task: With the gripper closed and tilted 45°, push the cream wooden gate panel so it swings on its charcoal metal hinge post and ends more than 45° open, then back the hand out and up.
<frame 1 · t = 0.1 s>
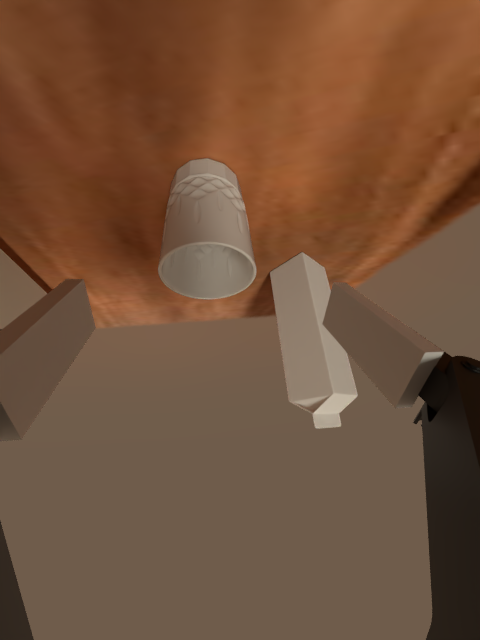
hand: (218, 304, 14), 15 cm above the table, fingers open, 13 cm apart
gate panel: (5, 307, 29), point 7 cm above the table, hinge at 0.0°
white cup: (206, 190, 25), on the table
milk: (296, 268, 38), on the table
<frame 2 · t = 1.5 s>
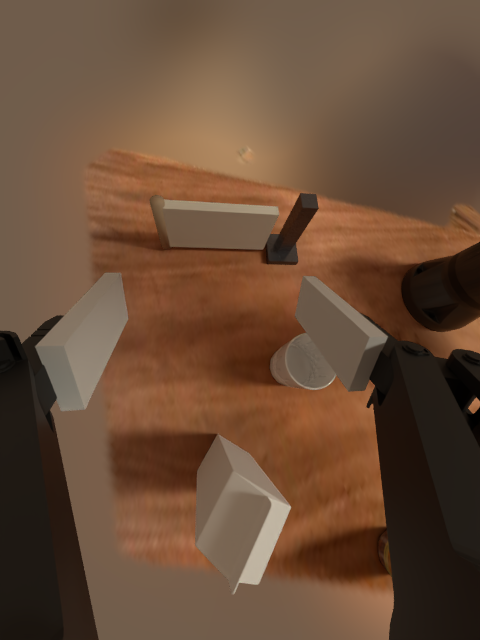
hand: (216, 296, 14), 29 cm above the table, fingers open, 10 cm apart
gate panel: (215, 228, 42), point 6 cm above the table, hinge at 0.0°
white cup: (287, 366, 44), on the table
gate post: (280, 250, 50), on the table
sauce bottle: (392, 549, 39), on the table
milk: (223, 461, 39), on the table
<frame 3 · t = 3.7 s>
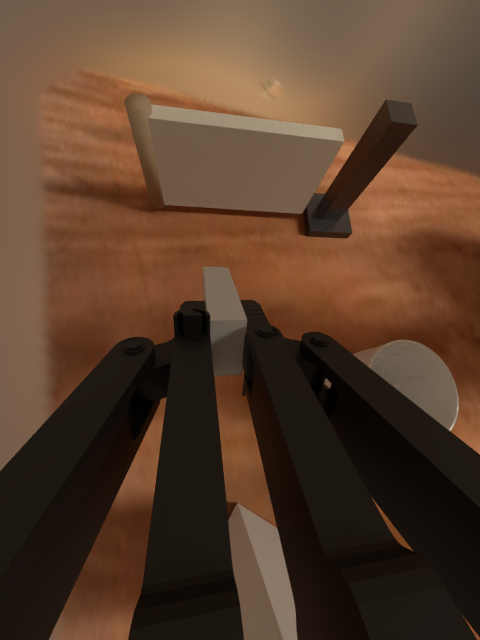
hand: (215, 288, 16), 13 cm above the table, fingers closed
gate panel: (234, 170, 26), point 6 cm above the table, hinge at 0.0°
white cup: (341, 389, 29), on the table
gate post: (324, 218, 35), on the table
milk: (247, 550, 23), on the table
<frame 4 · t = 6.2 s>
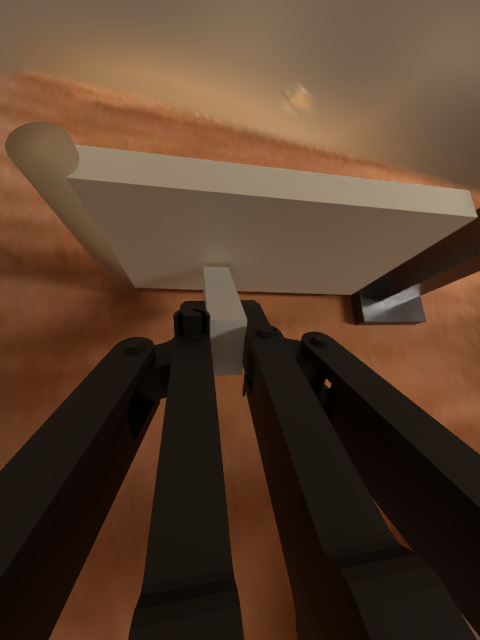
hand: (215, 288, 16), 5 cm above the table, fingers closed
gate panel: (253, 248, 15), point 6 cm above the table, hinge at 1.2°, touching gripper
gate post: (379, 293, 23), on the table
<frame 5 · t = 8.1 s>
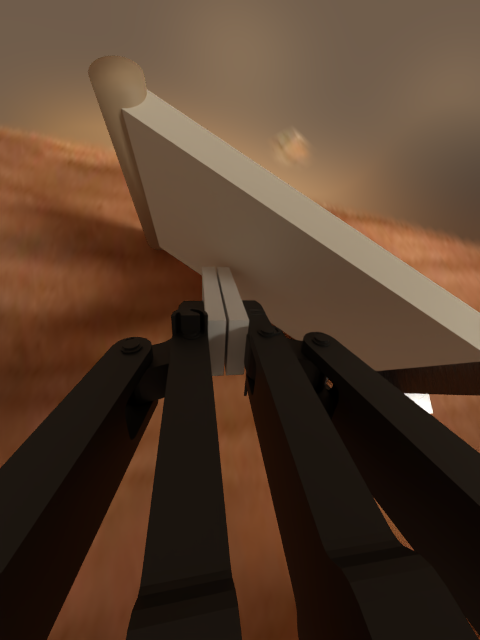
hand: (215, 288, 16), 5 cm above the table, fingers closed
gate panel: (264, 266, 15), point 6 cm above the table, hinge at 35.9°, touching gripper
gate post: (381, 376, 21), on the table
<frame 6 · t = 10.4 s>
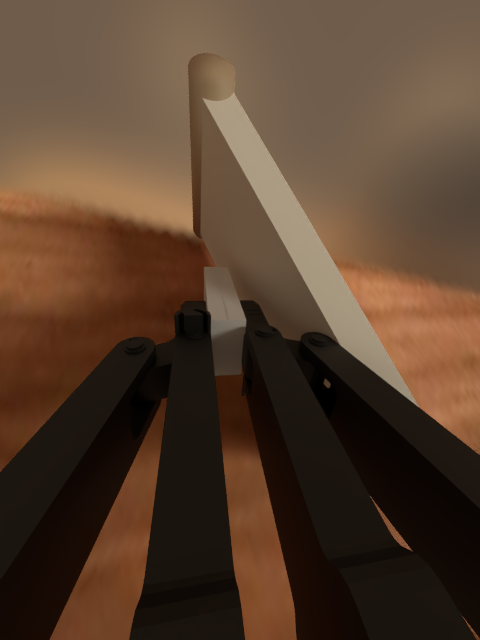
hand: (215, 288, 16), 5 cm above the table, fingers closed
gate panel: (268, 292, 14), point 7 cm above the table, hinge at 67.1°
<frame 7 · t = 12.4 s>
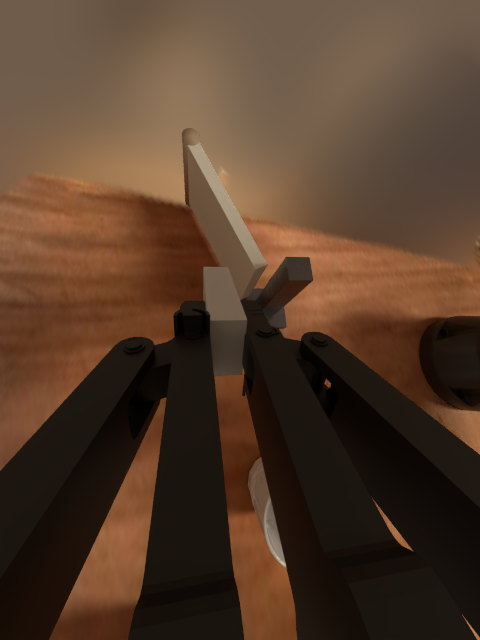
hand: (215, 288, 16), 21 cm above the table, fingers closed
gate panel: (218, 223, 33), point 7 cm above the table, hinge at 67.1°
white cup: (272, 480, 32), on the table
gate post: (262, 310, 38), on the table
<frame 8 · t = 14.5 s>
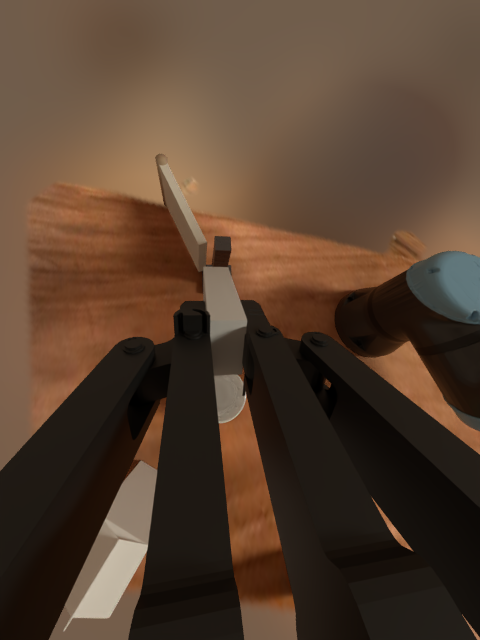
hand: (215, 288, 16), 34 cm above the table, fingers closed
gate panel: (182, 217, 48), point 6 cm above the table, hinge at 67.1°
white cup: (215, 393, 47), on the table
gate post: (216, 280, 53), on the table
milk: (145, 486, 41), on the table
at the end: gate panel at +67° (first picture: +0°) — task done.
